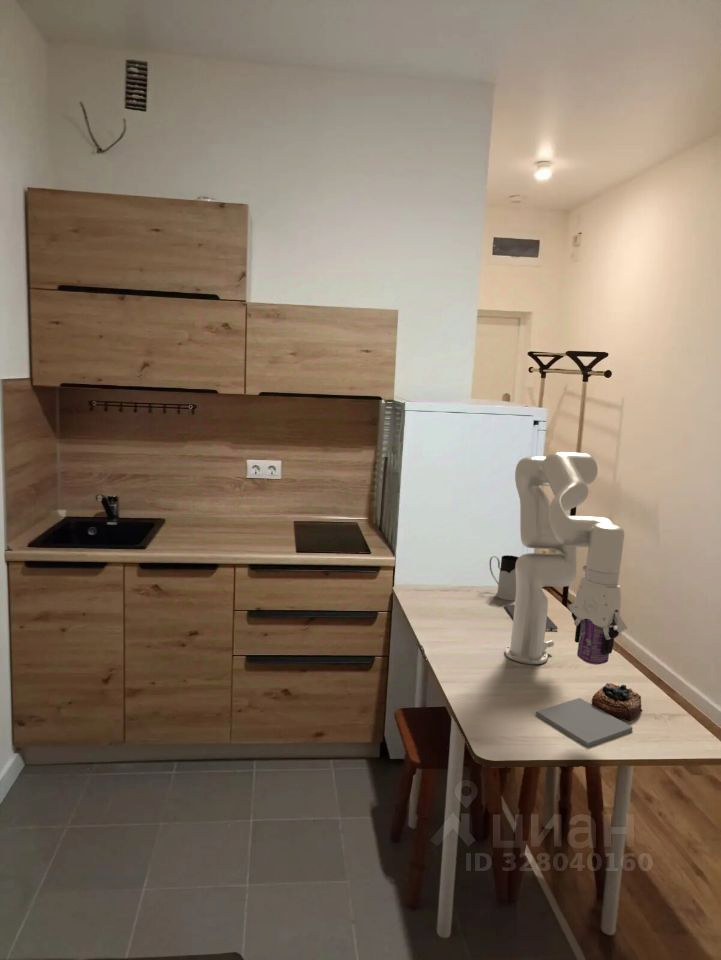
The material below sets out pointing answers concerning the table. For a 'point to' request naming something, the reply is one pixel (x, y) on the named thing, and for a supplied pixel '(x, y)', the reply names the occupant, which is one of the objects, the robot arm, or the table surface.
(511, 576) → the white and black pitcher
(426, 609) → the table surface
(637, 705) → the pastry
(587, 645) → the beverage can
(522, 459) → the robot arm
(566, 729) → the mat
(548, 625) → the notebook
